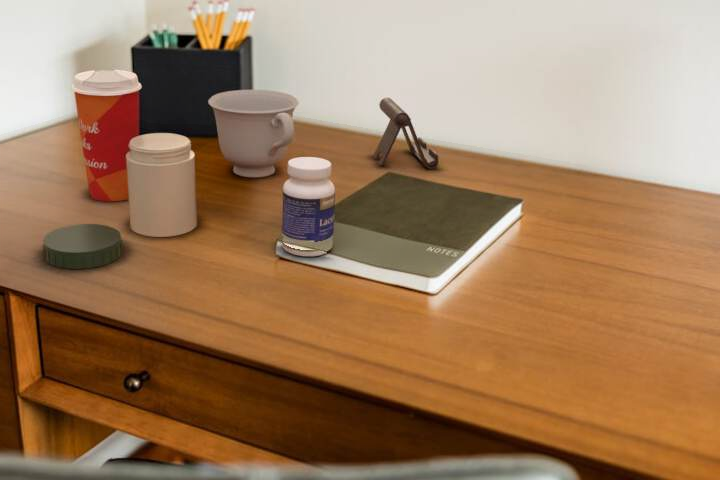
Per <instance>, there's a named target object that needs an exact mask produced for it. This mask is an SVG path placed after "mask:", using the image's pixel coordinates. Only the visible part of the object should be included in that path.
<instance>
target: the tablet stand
mask: <svg viewBox="0 0 720 480" xmlns="http://www.w3.org/2000/svg"><path fill="white" fill-rule="evenodd" d="M378 104H379V109H380V110H381V112H382V113H384V115H386V116H387V118H389V122H388V123H387V126H386V128H385V131H384V132H383V134H382V137H381V139H380V141H379V143H378V145H377V147H376V148H375V149H376V150H375V151H374V153H373V158H374V160H376V161H377V160H378V158H379V156H380V155H381V157H380V160H379V162H378V165H379V166H380V167H383V166H384V165H385V163H386V161H387V158H388V157H389V154H390V153H391V150H392V148H393V146H394V143H395V142H396V140H397V137H398V136H399V133H400V131H402V134H403V136H404V138H405V142H406V144H407V146H408V149H409V151H410V152H411V153H412V154H414V155H415V157H416V158H417V159H418V160H419V161H420V162H421V163H422V165H423V166H424V167H425V168H426V169H429V170H433V169H435V168H437V167H438V165H439V154H438V153H437V152H436V151H435V150H434V149H433V148H431V147H430V148H429V149H428V148H427V147H428V145H427V143H426V141H425V140H424V139H422V137H418V135H417V133H416V131H415V128H414V126H413V123H412V119H411V117H410V116H409V114H408V113H407V112H406V111H405V110H404V109H403V108H401V107H400V105H398V104H397V102H395V101H394V100H393V99H392V98H391V97H384V98H382V99H381V100H380V102H379V103H378ZM406 127H408V128H409V132H410V134H411V137H412V139H413V142H414V144H412V141H411V139H410V136H409V133H408V131H407V128H406Z"/></svg>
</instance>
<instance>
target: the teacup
mask: <svg viewBox="0 0 720 480" xmlns="http://www.w3.org/2000/svg"><path fill="white" fill-rule="evenodd" d="M207 102H208V104H209V106H210V107H211V108H212V110H213V114H214V118H215V124H216V132H217V138H218V143H219V149H220V152H221V154H222V156H223V157H224V158H225V160H226V161H227V162H229V163H231V164H233V169H232V171H233V173H234V174H235V175H237V176H240V177H243V178H264V177H268V176H271V175H274V173H275V172H276V169H275V168H276V167H275V165H276V164H278V163H280V162H281V161H282V160H283V159H284V158H285V156H286V154H287V151H288V148H289V145H290V144H291V143H292V141H293V139H294V136H295V124H294V120H293V115H294V112H295V110H296V108H297V107H298V106H299V104H300V102H299V100H298V99H297V98H296V97H295V96H293V95H292V94H288V93H285V92H280V91H276V90H268V89H267V90H266V89H238V90H237V89H235V90H228V91H223V92H218V93H216V94H213V95H212V96H211V97H210V98H209V99H208V100H207Z"/></svg>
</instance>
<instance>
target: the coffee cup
mask: <svg viewBox="0 0 720 480" xmlns="http://www.w3.org/2000/svg"><path fill="white" fill-rule="evenodd" d="M142 88H143V85H142V83H141V82H139V78H138V75H137V74H136V73H135V72H133V71H128V70H122V69H113V70H110V69H99V70H97V71H95V70H94V69H93V70H87V71H82V72H79V73H76V74H75V75H74V77H73V83H72V84H71V87H70V89H71V91H72V92H74V99H75V106H76V112H77V120H78V125H79V126H78V127H79V133H80V140H81V147H82V153H83V159H84V168H85V173H86V179H87V185H88V190H89V195H90V197H91V198H92V199H94V200H97V201H102V202H122V201H126V200H129V199H128V183H127V168H126V154H127V153H128V152H129V151H130V148H129V146H128V145H129V143H130V140H131V139H133V138H135V137H137V136H140V90H141V89H142Z"/></svg>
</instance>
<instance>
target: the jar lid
mask: <svg viewBox="0 0 720 480" xmlns="http://www.w3.org/2000/svg"><path fill="white" fill-rule="evenodd" d="M42 242H43V244H42V248H43V256H44V260H45V261H46V262H47V263H48V264H49V265H52V266H54V267H57V268H61V269H66V270H86V269H87V270H88V269H93V268H99V267H102V266H103V267H104V266H105V265H108V264H111V263H113V262H115V261H117V260H118V259H119V258H120V257H121V255H122V254H123V251H124V249H123V238H122V235H121V232H120V231H119V230H118V229H117V228H115V227H112V226H109V225H104V224H100V223H99V224H98V223H81V224H72V225H67V226H63V227H59V228H57V229H53V230H52V231H50V232H48V234H46V235H45V236H44V237H43V240H42Z"/></svg>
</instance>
